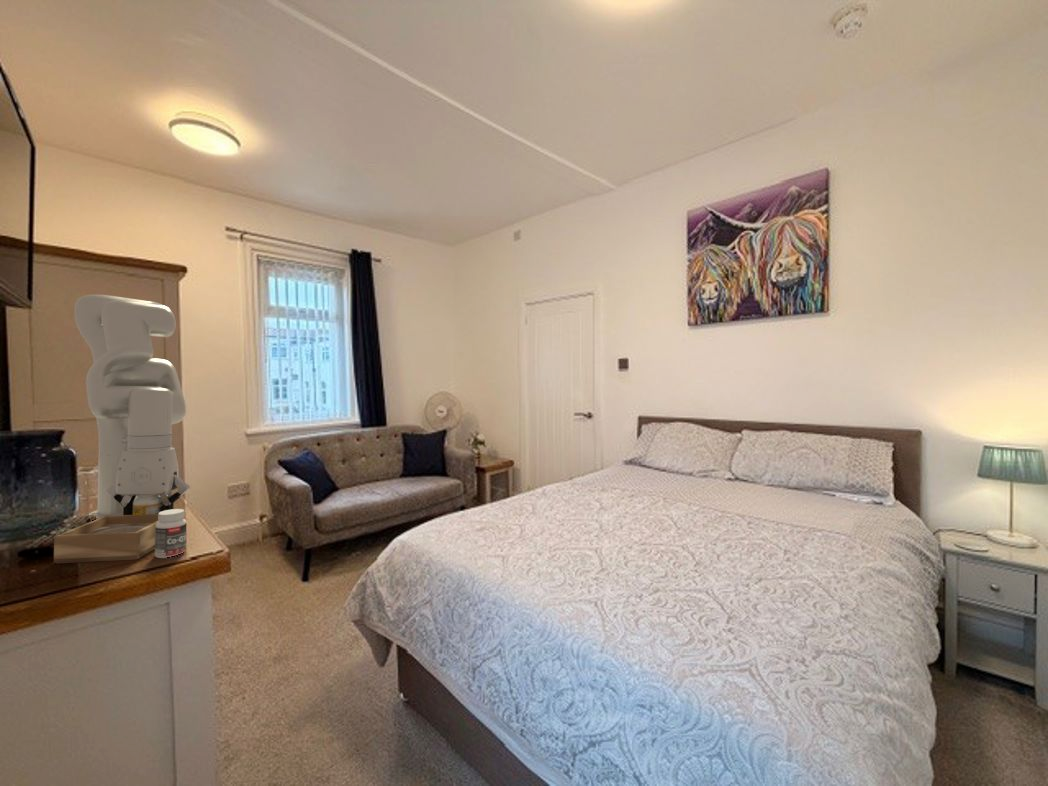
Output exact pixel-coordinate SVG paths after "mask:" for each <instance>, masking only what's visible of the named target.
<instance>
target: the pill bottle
mask: <svg viewBox="0 0 1048 786" xmlns="http://www.w3.org/2000/svg"><path fill="white" fill-rule="evenodd" d="M158 521H160V522H158V523H157V524H156V528H155V549H154V556H155V557H156V558H158V559H168V558H167V557H170V558H172V557H171V556H174V555H178V554H180V553H183V552H184V551H185V550H186V549H187V520H186V519H185V509H184V508H173V509H171V510H165V511H162V512H159V513H158ZM185 552H186V551H185ZM185 552H184V553H185ZM184 553H183V554H184ZM178 556H179V555H178Z"/></svg>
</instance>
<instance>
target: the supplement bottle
mask: <svg viewBox="0 0 1048 786" xmlns="http://www.w3.org/2000/svg"><path fill="white" fill-rule="evenodd" d="M137 496H138V497H139V498H137V499H136V500H134V502H133V515H144V514H158V513H159V512H160V508H161V506H163V502H162V500H161V497H160V495H137Z"/></svg>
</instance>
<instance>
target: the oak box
mask: <svg viewBox="0 0 1048 786" xmlns="http://www.w3.org/2000/svg"><path fill="white" fill-rule="evenodd" d="M158 522H160V521H158V514H144V515H113V516H103V517H101V518H98V519H96V520H94V521H92V520H90V521H89V522H86V523H84V524H82V525H79V526H76V527H74V528H72V529H69V530H67V531H64V532H62V533H59V534H57V535H54V537H53V538H54V539H53V564H54V563H56V564H71V563H72V564H73V563H89V562H90V563H92V562H110V561H111V562H112V561H115V562H116V561H130V560H132V561H133V560H138V559H140V558H142V557H143V556H145V555H147V554H149V553H150V552H151V551H153V550H154V551H155V528H156V524H157V523H158Z"/></svg>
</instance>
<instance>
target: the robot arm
mask: <svg viewBox="0 0 1048 786" xmlns="http://www.w3.org/2000/svg"><path fill="white" fill-rule="evenodd" d="M73 310H74V311H73V312H74V320H75V324H76V327H77V330H78V332H79V333H80V335H81V337H82V338H83V340H84V341H85V343H86V344H87V346H88V348H89V349H90V352H91V355H92V362H93V363H92V365H91V366H90V367H89V369H88V371H87V374H86V378H85V379H86V380H85V387H86V388H85V389H86V395H87V396H86V397H87V402H88V403H87V404H88V408H89V410H90V412H91V414H92V415H93V416H94V417H95V420H96V425H97V427H96V428H97V432H98V433H97V435H98V463H97V464H98V465H97V509H95V510H93V511H90V512H89V513H88V515H94V516H96V518H97V519H98V518H101V517H103V516H113V515H133V502H134V500H136V499H137V498H139V497H138V496H137V495H159V496H160V497H161V500H162V502H163V506H161V508H160V512H162V511H165V510H171V509H174V505H175V504H174V503H176V502H177V501H178V500H179V499H180V498H181V497H182V496H183V495H185V493H186V492H188V491H189V490H190V489H191V487H190V485H189V484H188V483H186V482H185V481H184V480H183V479H182V478H181V477H180V475H179V472H180V471H179V463H178V457H177V452H176V448H175V447H173V445H172V441H173V425H175V424H178V423H179V424H180V422H181V421H183V420H184V418H185V416H186V413H187V412H186V411H187V410H186V409H187V406H186V400H185V396H184V393H183V390H182V387H181V382H180V379H179V376H178V372H177V370H176V369H177V368H176V367H175V365H174V364H173V363H171V362H170V360H167V359H163V358H158V357H157V358H155V357H153V356H154V351H155V350H154V349H153V348H154V346H153V343H152V338H151V337H158V338H159V337H160V338H169V337H171V336H173V335H174V333H175V330H176V326H177V321H176V317H175V314H174V312H173V311H172V310H171V308H170V307H168V306H166V305H164V304H161V303H159V302H157V301H149V300H143V299H135V298H129V297H124V296H123V297H122V296H116V295H109V294H108V295H107V294H86V295H83V296H81V297H79V298H77V300H76V301H75V304H74V309H73ZM176 489H178V490H177V491H175V490H176ZM173 490H174V491H175V493H174V491H173Z"/></svg>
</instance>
